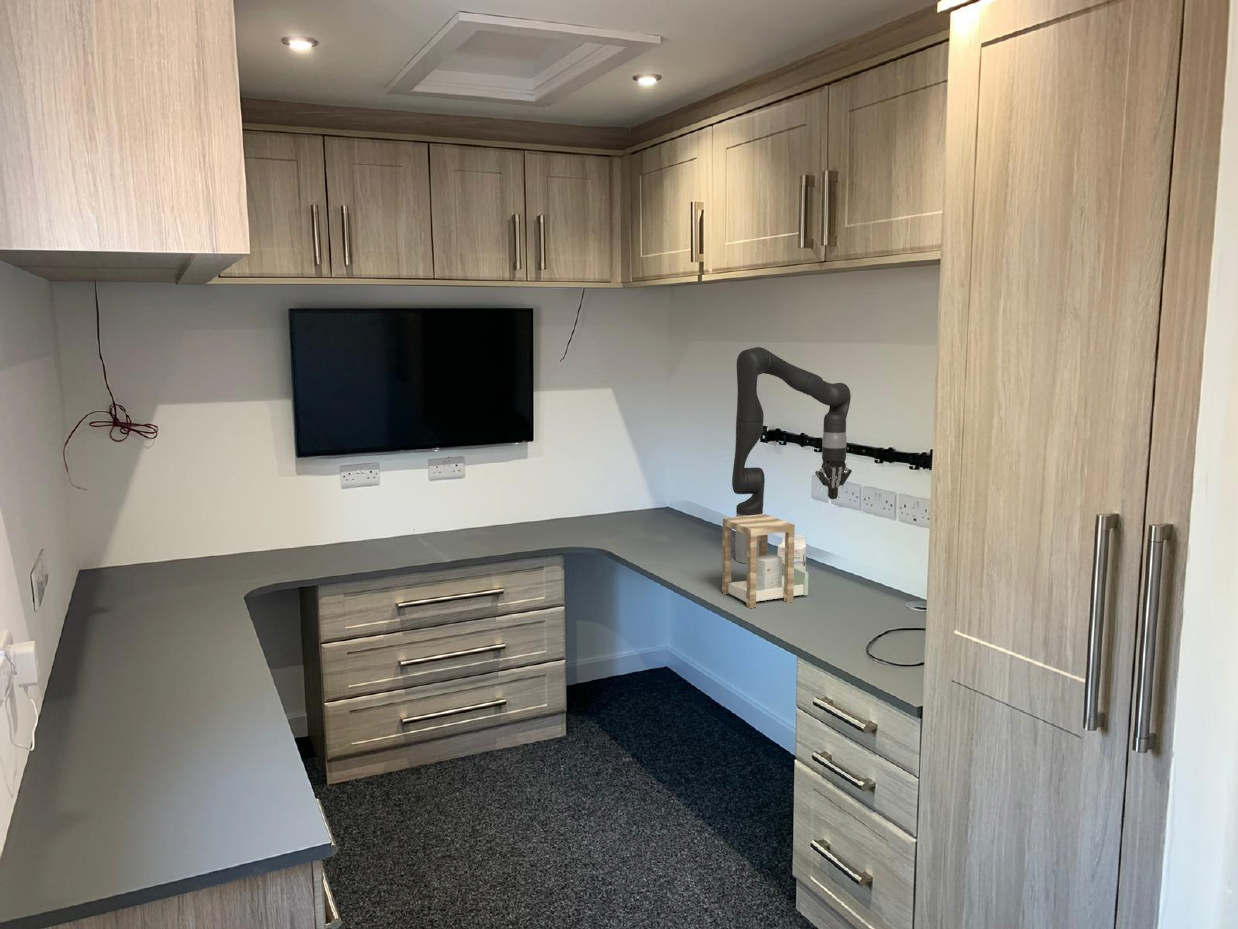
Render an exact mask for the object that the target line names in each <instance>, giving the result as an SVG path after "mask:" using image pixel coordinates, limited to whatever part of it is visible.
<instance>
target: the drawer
mask: <svg viewBox="0 0 1238 929" xmlns="http://www.w3.org/2000/svg"><path fill="white" fill-rule="evenodd" d="M784 572H785V563H782V587H780V588H773V589H766V590H759V591H756V602H760V601H761V602H762V601H763V602H764V601H767V600H768V601H769V600H773V599H775V600H776V599H784ZM728 593H730V594H729V595H732V596H734V597H735V598H737V599H739V600H741V601H743V602H745V603H747V580H742V581H741V580H740V581H733V582H732V581H731V583H728ZM808 594H809V572H808V571H807V570H806V571H804V570H801V569H799V568H797V567H794V589H793V597H795V596H802V595H804V596H808Z"/></svg>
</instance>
